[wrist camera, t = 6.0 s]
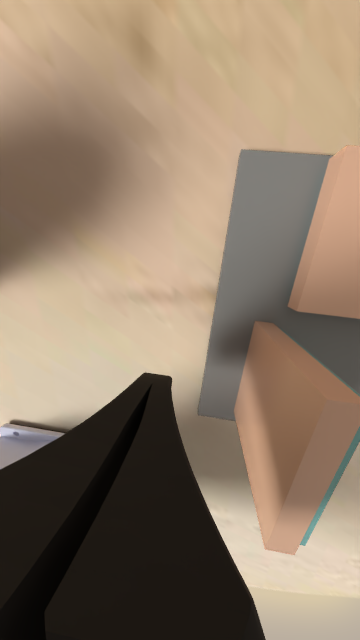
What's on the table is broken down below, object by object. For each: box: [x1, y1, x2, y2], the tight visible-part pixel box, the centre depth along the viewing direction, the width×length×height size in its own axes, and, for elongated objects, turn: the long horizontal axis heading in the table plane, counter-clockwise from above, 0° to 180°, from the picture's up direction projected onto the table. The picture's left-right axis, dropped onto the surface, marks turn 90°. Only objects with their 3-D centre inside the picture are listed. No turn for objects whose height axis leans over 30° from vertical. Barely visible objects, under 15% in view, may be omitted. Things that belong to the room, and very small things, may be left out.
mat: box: [198, 149, 360, 421], centre depth 11 cm, size 11×15×1 cm
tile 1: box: [234, 321, 360, 555], centre depth 9 cm, size 1×6×6 cm, turn 174°
